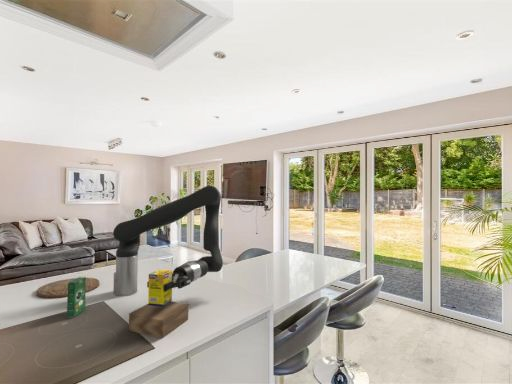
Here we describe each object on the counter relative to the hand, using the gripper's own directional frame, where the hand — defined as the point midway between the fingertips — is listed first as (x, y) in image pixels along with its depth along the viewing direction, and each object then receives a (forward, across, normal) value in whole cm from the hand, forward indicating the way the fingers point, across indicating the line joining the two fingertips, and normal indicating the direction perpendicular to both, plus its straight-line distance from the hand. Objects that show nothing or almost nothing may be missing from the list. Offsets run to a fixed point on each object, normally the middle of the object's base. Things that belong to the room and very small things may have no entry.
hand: (156, 286), depth 94 cm
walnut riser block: (-2, 0, +14) cm, 15 cm away
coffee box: (+5, -35, +14) cm, 38 cm away
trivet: (-10, -66, +15) cm, 69 cm away
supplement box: (-2, 0, +7) cm, 7 cm away
